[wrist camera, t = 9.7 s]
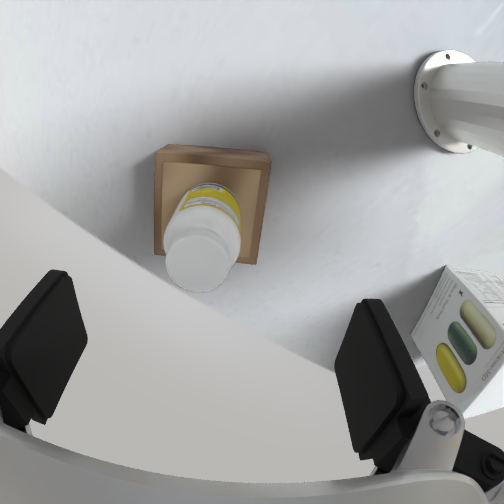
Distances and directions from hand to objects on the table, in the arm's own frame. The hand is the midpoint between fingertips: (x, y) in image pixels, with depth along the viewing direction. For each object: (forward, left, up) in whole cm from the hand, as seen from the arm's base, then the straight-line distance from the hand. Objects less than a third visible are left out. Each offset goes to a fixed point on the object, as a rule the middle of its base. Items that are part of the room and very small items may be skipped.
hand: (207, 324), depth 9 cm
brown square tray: (+2, +3, -24) cm, 24 cm away
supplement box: (-36, +15, -24) cm, 46 cm away
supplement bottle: (+1, +3, -19) cm, 19 cm away
